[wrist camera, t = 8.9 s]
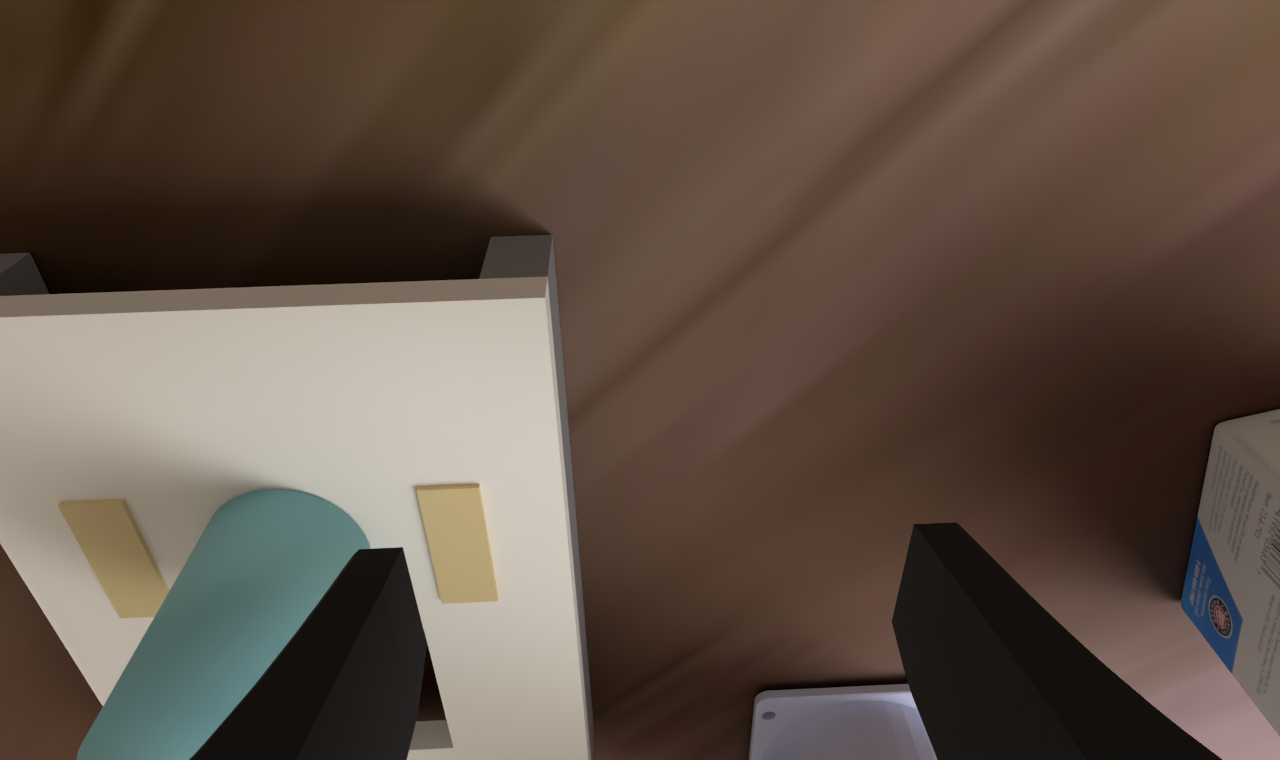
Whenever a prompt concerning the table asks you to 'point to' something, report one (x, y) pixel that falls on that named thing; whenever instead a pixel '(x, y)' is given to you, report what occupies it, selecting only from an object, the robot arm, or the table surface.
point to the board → (313, 466)
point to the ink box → (1241, 557)
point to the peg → (223, 623)
